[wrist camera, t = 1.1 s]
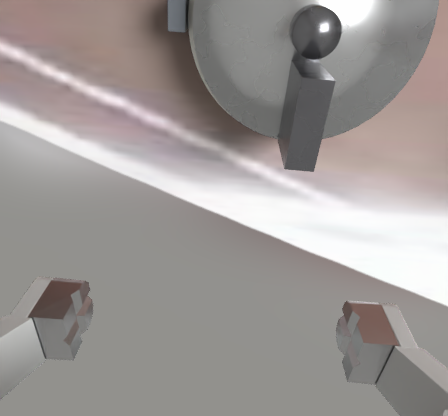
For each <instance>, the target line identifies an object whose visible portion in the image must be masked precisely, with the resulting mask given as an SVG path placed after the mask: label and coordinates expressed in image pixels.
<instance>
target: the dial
mask: <svg viewBox="0 0 448 416" xmlns="http://www.w3.org/2000/svg"><path fill="white" fill-rule="evenodd" d="M438 4H439V0H194V8H193V38H194V45H195V52H196V56H197V59H198V63H199V66H200V69H201V72H202V74H203V76H204V79H205V81H206V83H207V85H208V87H209V88H210V90H211V92H212V94H213V95H214V97H215V98H216V99H217V100H218V102H219V103H220V104H221V106H222V107H223V108H224V109H225V110H226V111H227V112H228V113H229V114H230V115H231V116H232V117H234V118H235V119H236V120H237V121H239V122H240V123H241V124H243V125H244V126H246V127H248V128H250V129H251V130H253V131H255V132H258V133H260V134H262V135H265V136H268V137H272V138H275V139H278V143H279V148H280V152H281V157H282V161H283V165H284V169H288V170H300V171H312V172H314V168H315V164H316V160H317V156H318V152H319V148H320V144H321V140H322V139H325V138H329V137H333V136H336V135H338V134H341V133H344V132H346V131H349V130H351V129H353V128H355V127H357V126H359V125H360V124H362V123H364V122H365V121H367V120H369V119H370V118H372V117H373V116H374V115H375V114H377V113H378V112H379V111H381V110H382V109H383V108H384V107H385V106H386V105H387V104H388V103H390V102H391V101H392V100H393V99H394V98H395V97H396V95H397V94H398V93H399V92H400V91H401V90H402V88H403V87H404V86H405V85H406V83H407V82H408V81H409V79H410V78H411V76H412V75H413V73H414V72H415V70H416V68H417V67H418V65H419V63H420V61H421V59H422V58H423V55H424V53H425V51H426V48H427V46H428V44H429V41H430V38H431V35H432V32H433V28H434V25H435V21H436V15H437V10H438Z"/></svg>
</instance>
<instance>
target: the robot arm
mask: <svg viewBox="0 0 448 416" xmlns="http://www.w3.org/2000/svg"><path fill="white" fill-rule="evenodd" d="M89 291H90V287H89V283H88V282H87V281H81V280H72V279H62V278H49V277H40V276H39V277H38V278H36V279H35V280H34V281H33V283H32V284H31V286H30V287H29V288H28V290H27V291H26V292H25V294H24V295H23V297H22V298H21V300H20V301H19V302H18V304H17V305H16V307H15V308H14V309H13V311H12V312H11V313H10V315H9V316H3V317H1V318H0V400H1V399H2V398H3V397H4V396H5V395H7V394H8V392H10V391H11V390H12V389H13V388H15V387H16V386H17V385H18V384H19V383H20V382H21V381H23V380H24V379H25V378H26V377H27V376H28V375H30V374H31V373H32V372H33V371H34V370H35V369H36V368H38V367H39V366H40V365H41V364H42V363H43V362H44V361H45V359H57V360H74V358H75V356H76V354H77V352H78V349H79V347H80V345H81V343H82V339H81V334H82V333H84V332H85V331H86V330H88V327H89V325H90V323H91V319H92V314H93V303H92V299H91V298H90V297H89V296H87V295H88V293H89ZM342 310H343V313H344V316H342V317H341V318H340V319H339V320H338V323H337V328H336V338H337V344H338V348H339V350H340V351H341V352H342V353H343V354H344V355H345V356H344V358H343V361H342V363H343V367H344V370H345V375H346V378H347V382H354V383H364V384H374V385H376V388H377V389H378V390H379V391H380V392H381V394H382V395H383V396H384V397H385V398H386V400H387V401H388V402H389V403H390V404H391V406H392V407H393V408H394V409H395V411H396V412H397V413H398V414H399V415H400V416H448V368H446V367H445V366H444V365H443V364H441V363H440V362H439V361H438V360H437V359H435V358H434V357H433V356H432V355H431V354H429V353H428V352H427V351H426V350H424V349H423V348H418V346H417V345H416V342H415V340H414V338H413V336H412V334H411V332H410V330H409V328H408V326H407V324H406V322H405V320H404V318H403V316H402V314H401V312H400V310H399V308H398V306H397V305H395V304H387V303H386V304H385V303H372V302H357V301H346V302H345V303H344V305H343V308H342Z"/></svg>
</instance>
